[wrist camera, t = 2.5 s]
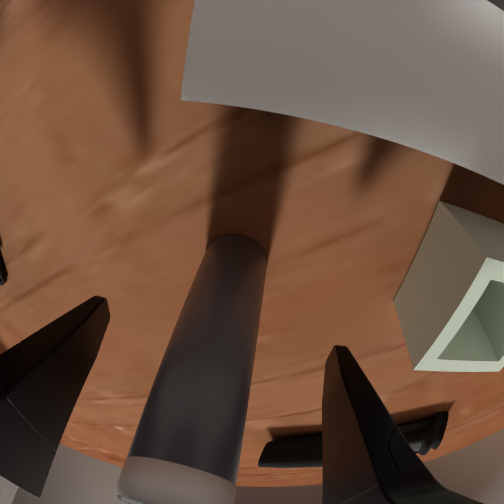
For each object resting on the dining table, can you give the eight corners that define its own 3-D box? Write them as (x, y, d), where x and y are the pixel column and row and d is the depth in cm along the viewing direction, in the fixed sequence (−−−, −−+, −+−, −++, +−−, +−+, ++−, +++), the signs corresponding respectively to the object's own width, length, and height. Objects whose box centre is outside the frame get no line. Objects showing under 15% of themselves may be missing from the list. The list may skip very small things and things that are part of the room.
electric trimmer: (257, 425, 22) (252, 460, 20) (449, 405, 19) (456, 439, 16) (265, 443, 24) (261, 474, 22) (437, 425, 21) (443, 456, 18)
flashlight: (203, 279, 14) (126, 505, 6) (207, 228, 13) (101, 484, 4) (261, 291, 14) (225, 529, 6) (272, 240, 13) (236, 520, 4)
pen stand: (392, 301, 14) (413, 369, 10) (439, 200, 11) (486, 257, 7) (472, 313, 14) (499, 371, 10) (519, 229, 11) (565, 281, 7)
